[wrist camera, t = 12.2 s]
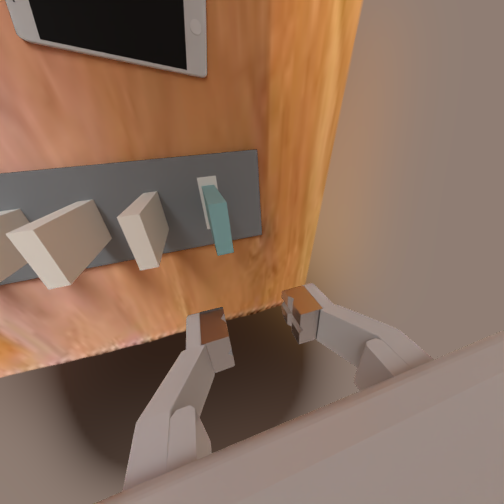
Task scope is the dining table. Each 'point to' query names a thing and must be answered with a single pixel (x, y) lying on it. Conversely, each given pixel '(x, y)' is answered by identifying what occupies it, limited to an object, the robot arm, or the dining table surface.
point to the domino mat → (134, 185)
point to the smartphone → (120, 30)
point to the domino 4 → (218, 219)
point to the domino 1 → (3, 250)
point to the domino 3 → (145, 229)
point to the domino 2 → (62, 242)
